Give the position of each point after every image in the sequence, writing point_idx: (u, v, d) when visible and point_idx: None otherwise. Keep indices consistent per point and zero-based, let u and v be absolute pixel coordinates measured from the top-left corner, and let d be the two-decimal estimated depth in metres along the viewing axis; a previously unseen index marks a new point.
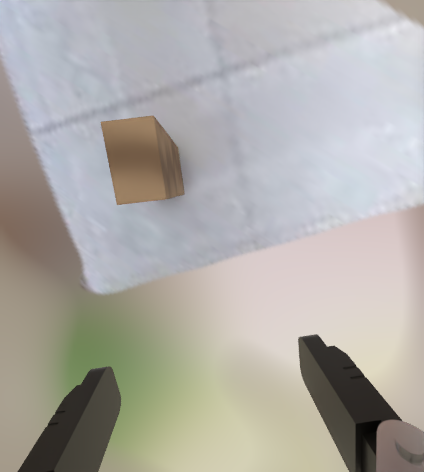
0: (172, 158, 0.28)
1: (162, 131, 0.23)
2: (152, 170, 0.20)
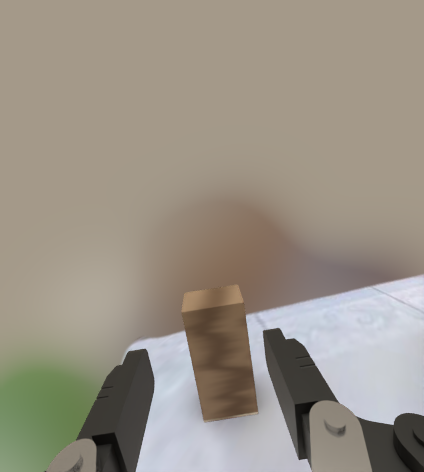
0: (230, 364, 0.28)
1: (243, 329, 0.26)
2: (204, 304, 0.26)
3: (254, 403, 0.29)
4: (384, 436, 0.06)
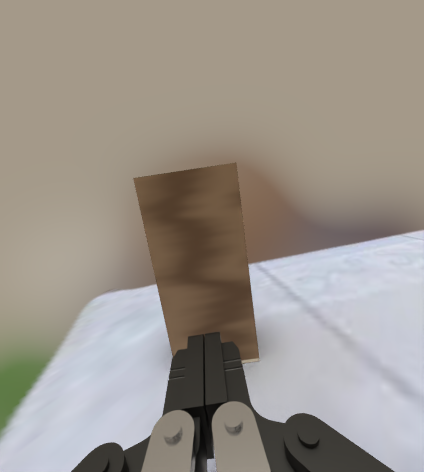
0: (215, 276, 0.17)
1: (235, 214, 0.16)
2: None
3: (253, 343, 0.19)
4: (279, 435, 0.06)
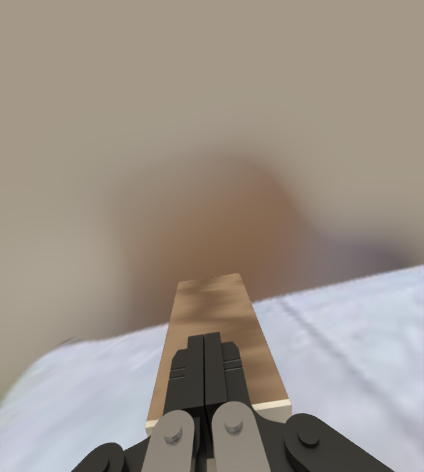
0: (223, 315, 0.19)
1: (239, 287, 0.23)
2: None
3: (273, 375, 0.13)
4: (279, 435, 0.06)
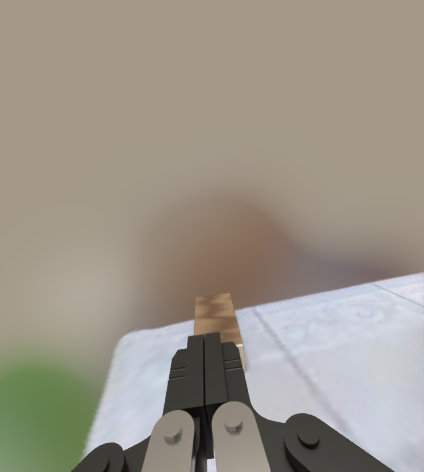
0: (220, 315, 0.40)
1: (229, 301, 0.44)
2: None
3: (238, 337, 0.34)
4: (279, 435, 0.06)
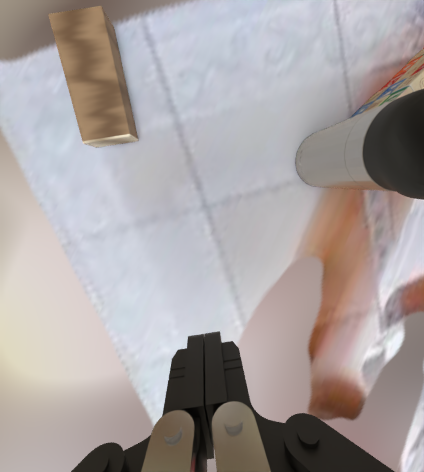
0: (98, 77, 0.32)
1: (104, 37, 0.31)
2: None
3: (125, 123, 0.34)
4: (279, 435, 0.06)
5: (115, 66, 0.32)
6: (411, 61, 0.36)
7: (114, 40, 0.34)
